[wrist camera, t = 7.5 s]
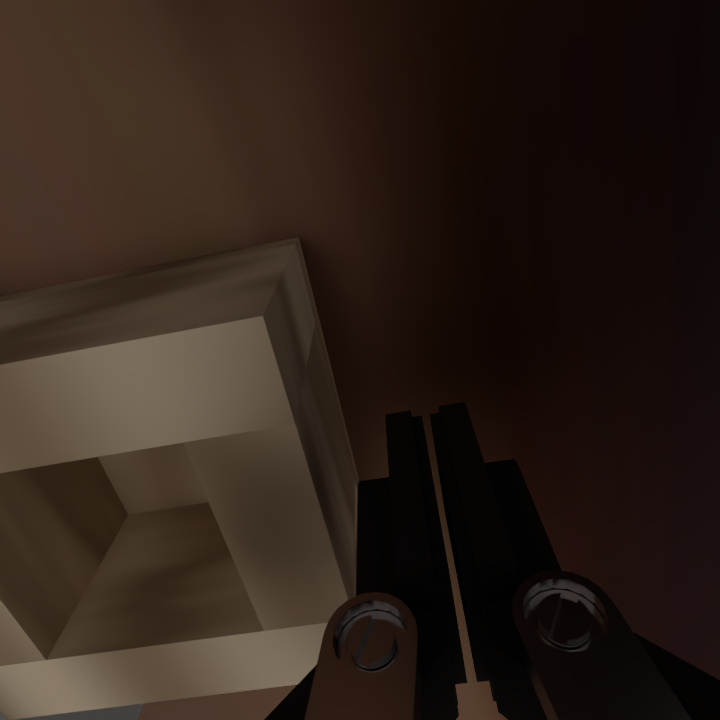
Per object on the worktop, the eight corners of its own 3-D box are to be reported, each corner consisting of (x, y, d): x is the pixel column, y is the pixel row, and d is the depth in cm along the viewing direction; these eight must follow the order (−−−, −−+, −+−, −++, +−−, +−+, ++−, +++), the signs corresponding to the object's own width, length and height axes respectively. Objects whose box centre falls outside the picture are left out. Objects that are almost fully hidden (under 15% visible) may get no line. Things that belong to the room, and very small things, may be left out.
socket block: (299, 235, 14) (262, 315, 8) (366, 508, 18) (370, 675, 13) (-35, 301, 15) (-263, 413, 9) (106, 547, 19) (8, 719, 14)
